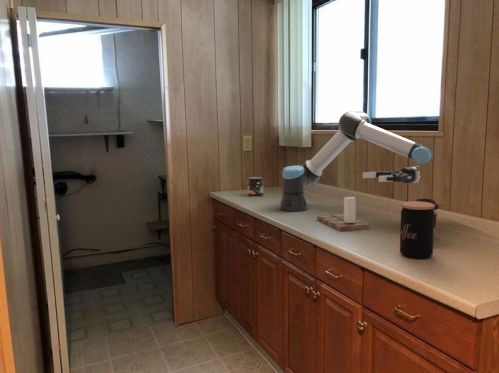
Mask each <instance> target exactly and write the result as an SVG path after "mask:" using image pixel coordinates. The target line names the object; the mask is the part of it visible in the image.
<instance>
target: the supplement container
mask: <svg viewBox="0 0 499 373" xmlns="http://www.w3.org/2000/svg"><path fill="white" fill-rule="evenodd" d="M247 195H248V196H249V195H250V196H249V197H251V196H259V197H262V196H261V195H263V196H264V181H263V177H261V176H250V177H247Z"/></svg>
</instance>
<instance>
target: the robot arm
mask: <svg viewBox="0 0 499 373" xmlns="http://www.w3.org/2000/svg"><path fill="white" fill-rule="evenodd" d="M358 139H362V140H365V141H367V142H370V143H372V144H375V145H377V146H380V147H382V148H383V149H387V150H389V151H392V152H393V153H397V154H398V155H400V156H403V157H406V158H408V159H410V160H412V161H413V162H414V163H415V164H417V165H421V164H426V163H428V162H429V161H431V160H432V158H433V151H432V149H431V148H429V147H427V146H423V145H422V144H420V143H417V142H415V141H413V140H410V139H407V138H406V137H402V136H401V135H398V134H395V133H393V132H390V131H388V130H385V129H384V128H381V127H378V126H377V125H373V124H372V120H371V117H370V115H368V114H367V113H365V112H363V111H347V112H344V113H343V114H342V115H341V116H340V118H339V120H338V131H337V132H336V133H335V134H334V135H333V136H332V137H331V138H330V140H328V141H327V142H326V144H325V145H324V146H323V147H322V148H321V149H320V150H319V151H318V152H317V153H316V154H315V155H314V156H313V157H312V158H311V159H310V160H309V159H307V160H306V161H305V162H304V163H303V164H301V165H290V166H288V165H287V166H286V167H283V169H282V174H281V176H282V196H281V200H280V203H279V210H281V211H284V212H302V211H306V210H308V204H307V200H306V197H305V188H308V187H312V186H314V185H316V184H317V183H318V182H319V180H320V177H321V176H322V175H323V170H324V169H326V167H327V166H328V165H329V164H330V163H331V162H333V160H334V159H335V158H336V157H337V156H338V155H339V154H340V153H341V152H342V151H343V150H344V149H345V148H346V147H347V146H348V145H349V144H350V143H352V142H356V141H357V140H358ZM416 167H417V166H408V167H402V168H401V169H400V171H398V170H396V171H394V170H393V171H391V170H389V171H384V170H383V171H381V170H380V171H379V170H377V171H376V170H374V171H367V172H366V171H364V172H362V179H375V180H376V178H378V182H379V183H387V182H388V183H389V182H391V183H392V182H397V183H403V184H415V183H416V182H417V183H418V181H419V179H420V177H421V176H420V171H419V170H418V169H417V168H416Z"/></svg>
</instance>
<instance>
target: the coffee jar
mask: <svg viewBox="0 0 499 373" xmlns="http://www.w3.org/2000/svg"><path fill="white" fill-rule="evenodd" d="M400 204H401V207H402V208H401V210H400V233H399V235H400V236H399V252H400V253H401V255H402V256H403V257H405V258H408V259H412V260H428V259H430V258H431V257H432V255H433V254H434V237H433V236H435V230H434V211H433V209H434V207H435V205H434V204H432V203H428V202H419V201H416V200H415V201H413V200H412V201H402V202H401V203H400Z"/></svg>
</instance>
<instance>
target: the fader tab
mask: <svg viewBox="0 0 499 373" xmlns="http://www.w3.org/2000/svg"><path fill="white" fill-rule="evenodd" d="M356 199H357V198H356V197H355V196H348V197H344V198H343V214H344V222H346V223H355V218H356Z"/></svg>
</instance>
